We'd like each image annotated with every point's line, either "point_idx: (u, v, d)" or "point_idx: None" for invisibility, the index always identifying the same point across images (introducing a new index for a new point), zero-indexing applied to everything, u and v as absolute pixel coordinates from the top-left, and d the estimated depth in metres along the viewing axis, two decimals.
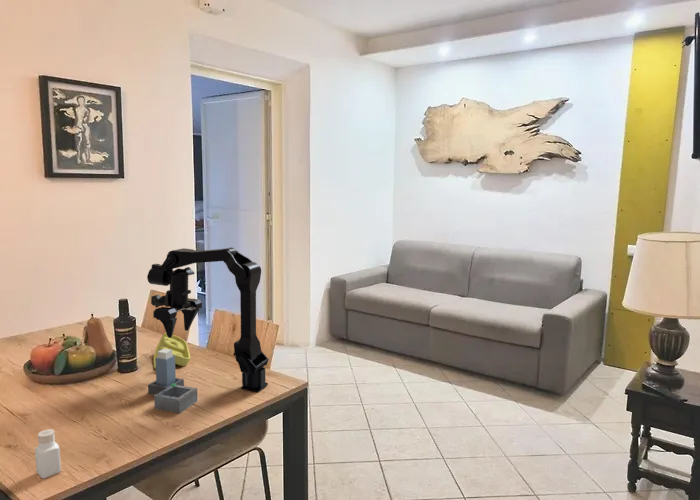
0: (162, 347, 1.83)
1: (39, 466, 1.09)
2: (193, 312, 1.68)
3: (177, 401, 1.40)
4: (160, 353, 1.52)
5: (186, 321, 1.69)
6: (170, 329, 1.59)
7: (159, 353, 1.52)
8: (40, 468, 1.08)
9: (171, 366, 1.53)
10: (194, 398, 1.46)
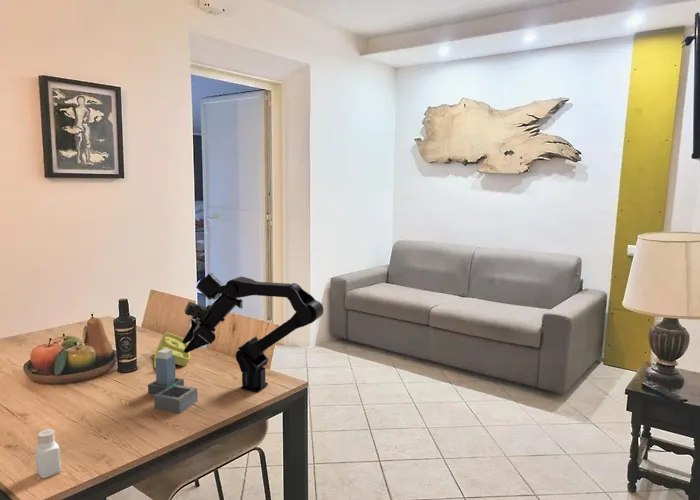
0: (163, 347, 1.83)
1: (39, 466, 1.09)
2: None
3: (177, 401, 1.40)
4: (160, 353, 1.52)
5: (190, 335, 1.60)
6: (194, 347, 1.51)
7: (159, 353, 1.52)
8: (40, 468, 1.08)
9: (171, 366, 1.53)
10: (194, 398, 1.46)
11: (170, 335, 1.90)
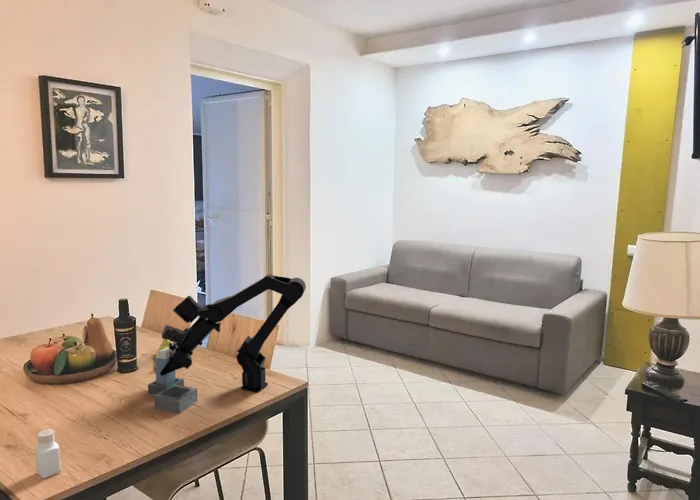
0: (164, 346, 1.84)
1: (39, 466, 1.09)
2: None
3: (177, 401, 1.40)
4: (160, 353, 1.52)
5: None
6: (170, 369, 1.50)
7: (159, 353, 1.52)
8: (40, 468, 1.08)
9: None
10: (194, 398, 1.46)
11: None
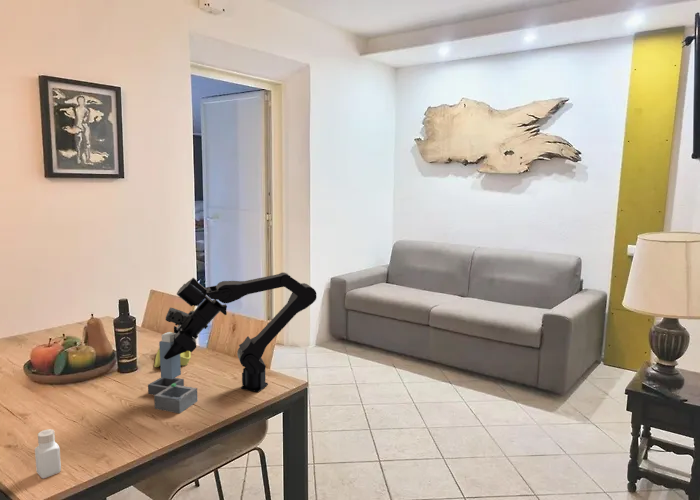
0: None
1: (39, 466, 1.09)
2: None
3: (177, 401, 1.40)
4: (164, 336, 1.46)
5: None
6: (175, 353, 1.45)
7: (163, 336, 1.47)
8: (40, 468, 1.08)
9: None
10: (194, 398, 1.46)
11: None
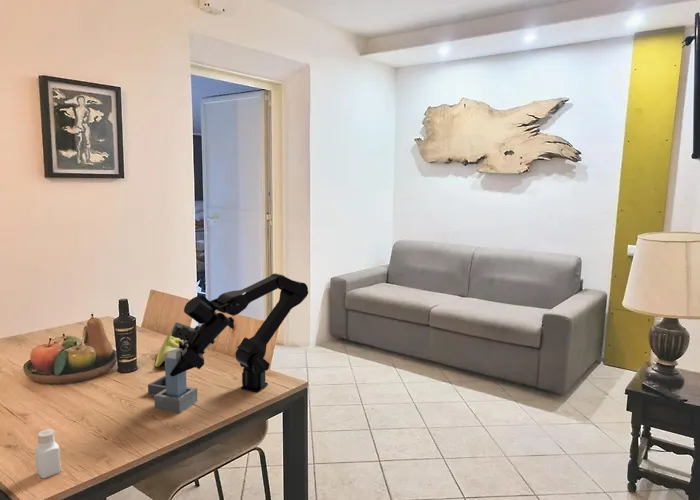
0: (166, 346, 1.84)
1: (39, 466, 1.09)
2: None
3: (177, 401, 1.40)
4: (170, 352, 1.42)
5: None
6: (181, 370, 1.41)
7: (169, 352, 1.42)
8: (40, 468, 1.08)
9: None
10: (194, 398, 1.46)
11: None
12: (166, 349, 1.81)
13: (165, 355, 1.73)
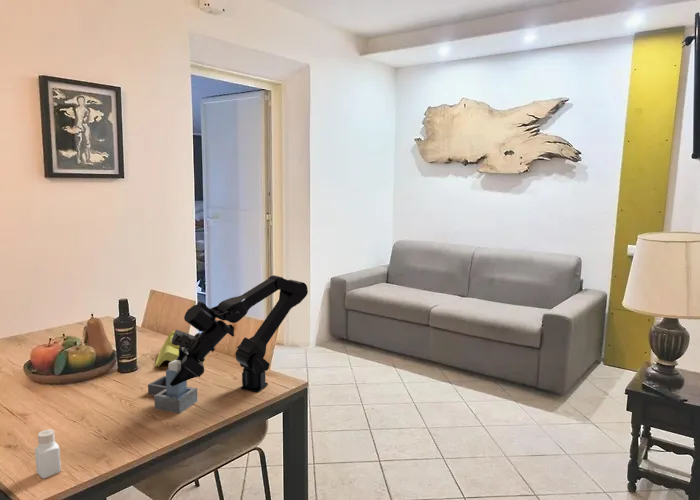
0: (167, 345, 1.85)
1: (39, 466, 1.09)
2: None
3: (177, 401, 1.40)
4: (171, 365, 1.42)
5: None
6: (181, 379, 1.39)
7: (170, 365, 1.42)
8: (40, 468, 1.08)
9: None
10: (194, 398, 1.46)
11: None
12: (167, 349, 1.82)
13: (165, 355, 1.73)
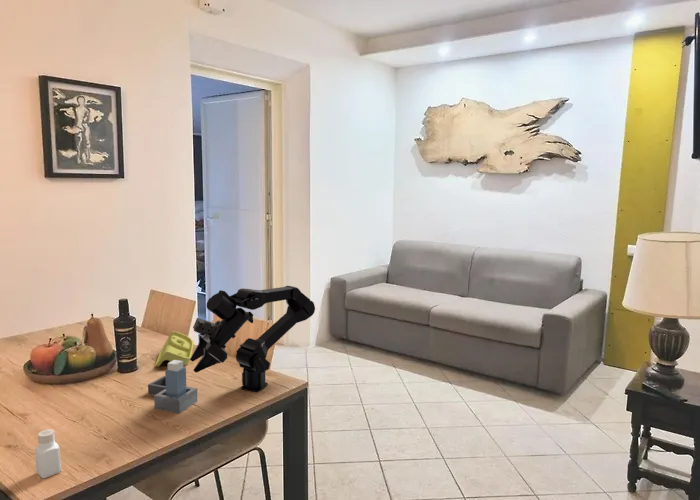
0: (167, 345, 1.85)
1: (39, 466, 1.09)
2: None
3: (177, 401, 1.40)
4: (170, 365, 1.42)
5: (198, 352, 1.52)
6: (205, 366, 1.43)
7: (169, 365, 1.42)
8: (40, 468, 1.08)
9: (182, 378, 1.44)
10: (194, 398, 1.46)
11: (177, 334, 1.92)
12: (167, 349, 1.82)
13: (165, 355, 1.73)
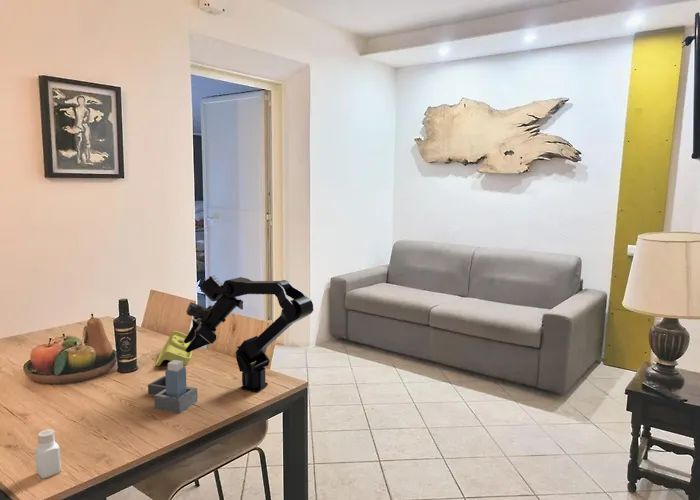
0: (168, 345, 1.85)
1: (39, 466, 1.09)
2: None
3: (177, 401, 1.40)
4: (170, 365, 1.42)
5: (191, 335, 1.63)
6: (196, 346, 1.54)
7: (169, 365, 1.42)
8: (40, 468, 1.08)
9: (182, 378, 1.44)
10: (194, 398, 1.46)
11: (178, 333, 1.92)
12: (168, 348, 1.82)
13: (165, 354, 1.73)
